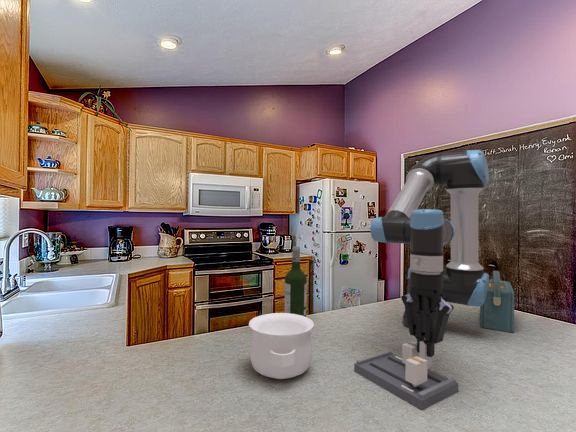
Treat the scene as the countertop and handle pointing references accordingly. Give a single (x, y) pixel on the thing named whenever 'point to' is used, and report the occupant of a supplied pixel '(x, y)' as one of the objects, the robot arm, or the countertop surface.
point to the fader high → (409, 351)
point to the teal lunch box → (498, 306)
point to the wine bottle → (295, 287)
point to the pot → (281, 344)
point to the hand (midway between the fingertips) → (425, 367)
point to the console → (391, 377)
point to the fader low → (416, 371)
